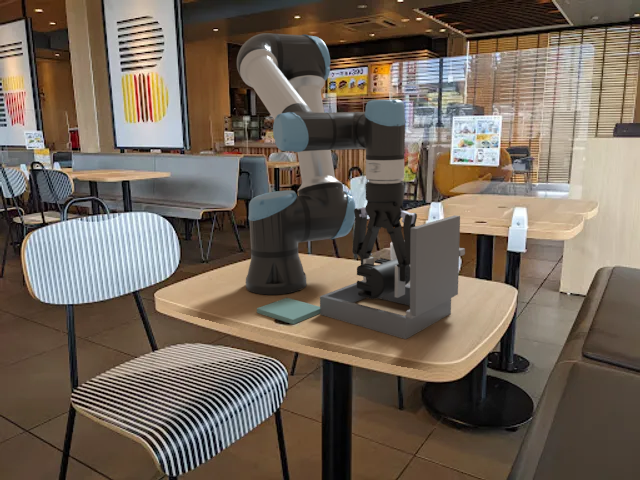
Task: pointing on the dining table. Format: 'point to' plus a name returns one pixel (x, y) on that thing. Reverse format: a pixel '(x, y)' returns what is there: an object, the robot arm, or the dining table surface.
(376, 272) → the end cap
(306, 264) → the dining table surface
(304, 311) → the rubber pad
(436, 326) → the dining table surface
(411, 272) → the case
